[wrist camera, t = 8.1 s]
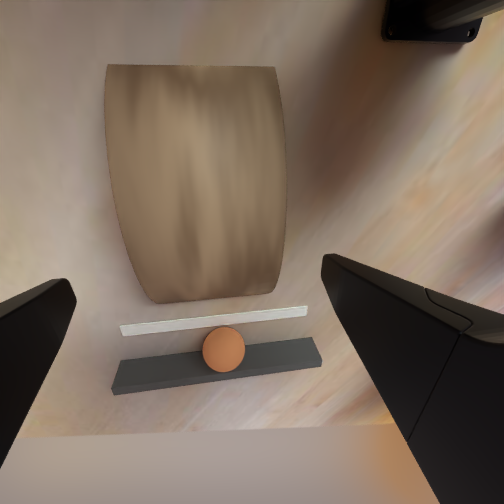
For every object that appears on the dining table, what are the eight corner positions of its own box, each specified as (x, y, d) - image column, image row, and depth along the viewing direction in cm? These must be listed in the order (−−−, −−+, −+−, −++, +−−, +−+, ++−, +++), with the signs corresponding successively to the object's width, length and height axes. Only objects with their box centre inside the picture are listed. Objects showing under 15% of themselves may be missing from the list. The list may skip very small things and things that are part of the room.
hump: (242, 71, 31) (298, -11, 11) (246, 238, 41) (278, 345, 21) (155, 70, 29) (52, -24, 10) (182, 242, 40) (156, 361, 20)
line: (306, 305, 26) (307, 306, 26) (305, 314, 26) (306, 315, 26) (120, 325, 24) (119, 326, 23) (123, 335, 24) (122, 336, 24)
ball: (240, 344, 27) (249, 376, 24) (202, 351, 26) (206, 386, 23) (239, 315, 25) (249, 345, 22) (199, 322, 25) (202, 355, 21)
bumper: (311, 337, 28) (322, 359, 26) (310, 343, 29) (321, 366, 26) (121, 360, 26) (111, 388, 23) (123, 367, 26) (113, 395, 23)
